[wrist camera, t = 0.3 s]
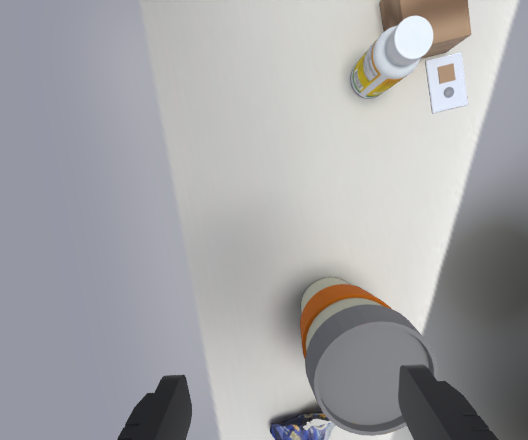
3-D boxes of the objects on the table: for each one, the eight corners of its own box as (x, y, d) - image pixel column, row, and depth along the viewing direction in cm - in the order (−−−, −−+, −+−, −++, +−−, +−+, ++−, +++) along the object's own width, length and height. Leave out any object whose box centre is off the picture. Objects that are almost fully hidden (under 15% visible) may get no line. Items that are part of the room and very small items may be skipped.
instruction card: (425, 61, 34) (426, 60, 33) (460, 52, 34) (462, 51, 33) (432, 113, 35) (434, 112, 34) (466, 105, 35) (468, 104, 34)
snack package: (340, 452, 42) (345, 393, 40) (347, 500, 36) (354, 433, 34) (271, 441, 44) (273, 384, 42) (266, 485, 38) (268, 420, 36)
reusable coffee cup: (276, 326, 38) (289, 414, 23) (309, 253, 37) (345, 299, 22) (348, 352, 39) (404, 453, 24) (382, 283, 38) (464, 345, 23)
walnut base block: (379, 2, 33) (396, -23, 29) (437, -12, 33) (463, -39, 29) (389, 66, 34) (407, 50, 30) (445, 52, 34) (471, 34, 30)
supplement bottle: (343, 87, 34) (377, 48, 24) (362, 50, 33) (404, -4, 24) (376, 106, 34) (422, 75, 25) (395, 70, 34) (450, 24, 24)
